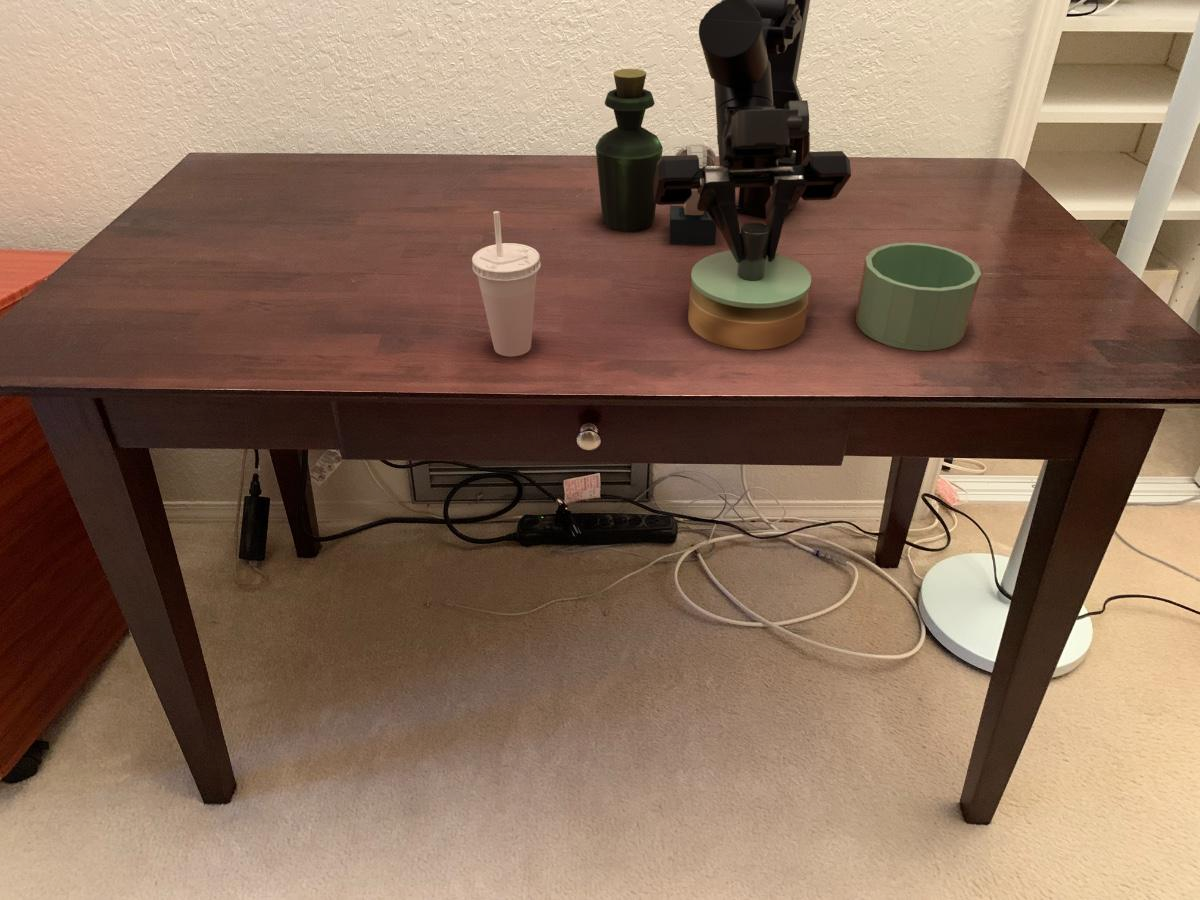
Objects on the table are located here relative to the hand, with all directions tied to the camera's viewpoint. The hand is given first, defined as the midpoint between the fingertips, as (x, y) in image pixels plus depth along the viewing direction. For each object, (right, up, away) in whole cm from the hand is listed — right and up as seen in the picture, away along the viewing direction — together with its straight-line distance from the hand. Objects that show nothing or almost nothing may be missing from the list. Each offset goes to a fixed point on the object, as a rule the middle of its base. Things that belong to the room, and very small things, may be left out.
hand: (755, 260), depth 89 cm
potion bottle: (-12, +10, +26) cm, 31 cm away
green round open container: (+17, -6, +4) cm, 18 cm away
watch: (-4, +7, +23) cm, 24 cm away
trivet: (0, -5, +5) cm, 7 cm away
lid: (0, -1, +3) cm, 3 cm away
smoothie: (-24, -8, +2) cm, 25 cm away
